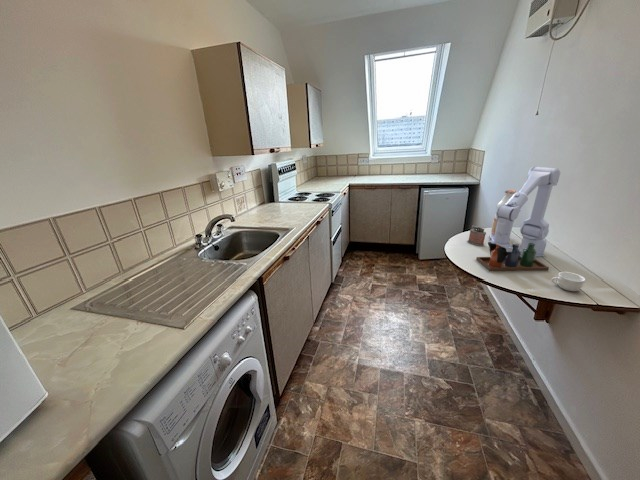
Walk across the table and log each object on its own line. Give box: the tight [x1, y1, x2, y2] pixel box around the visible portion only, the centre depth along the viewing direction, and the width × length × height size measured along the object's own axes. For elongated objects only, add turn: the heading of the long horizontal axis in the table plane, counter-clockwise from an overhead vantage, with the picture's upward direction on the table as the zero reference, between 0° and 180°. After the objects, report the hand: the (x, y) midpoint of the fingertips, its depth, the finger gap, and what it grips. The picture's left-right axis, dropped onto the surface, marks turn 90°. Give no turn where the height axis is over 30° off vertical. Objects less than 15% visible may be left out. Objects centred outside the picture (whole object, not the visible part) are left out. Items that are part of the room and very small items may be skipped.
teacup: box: [550, 271, 586, 292], centre depth 105 cm, size 10×8×5 cm
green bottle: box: [519, 243, 537, 267], centre depth 122 cm, size 5×5×10 cm
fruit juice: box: [489, 189, 517, 236], centre depth 150 cm, size 9×9×28 cm
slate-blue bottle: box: [504, 242, 521, 267], centre depth 122 cm, size 5×5×10 cm
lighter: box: [467, 225, 487, 247], centre depth 147 cm, size 8×3×10 cm, turn 40°
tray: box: [475, 255, 550, 272], centre depth 124 cm, size 26×12×2 cm, turn 88°
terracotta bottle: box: [489, 245, 502, 267], centre depth 122 cm, size 5×5×10 cm
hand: (496, 259), depth 123 cm, fingers closed on terracotta bottle, 5 cm apart
